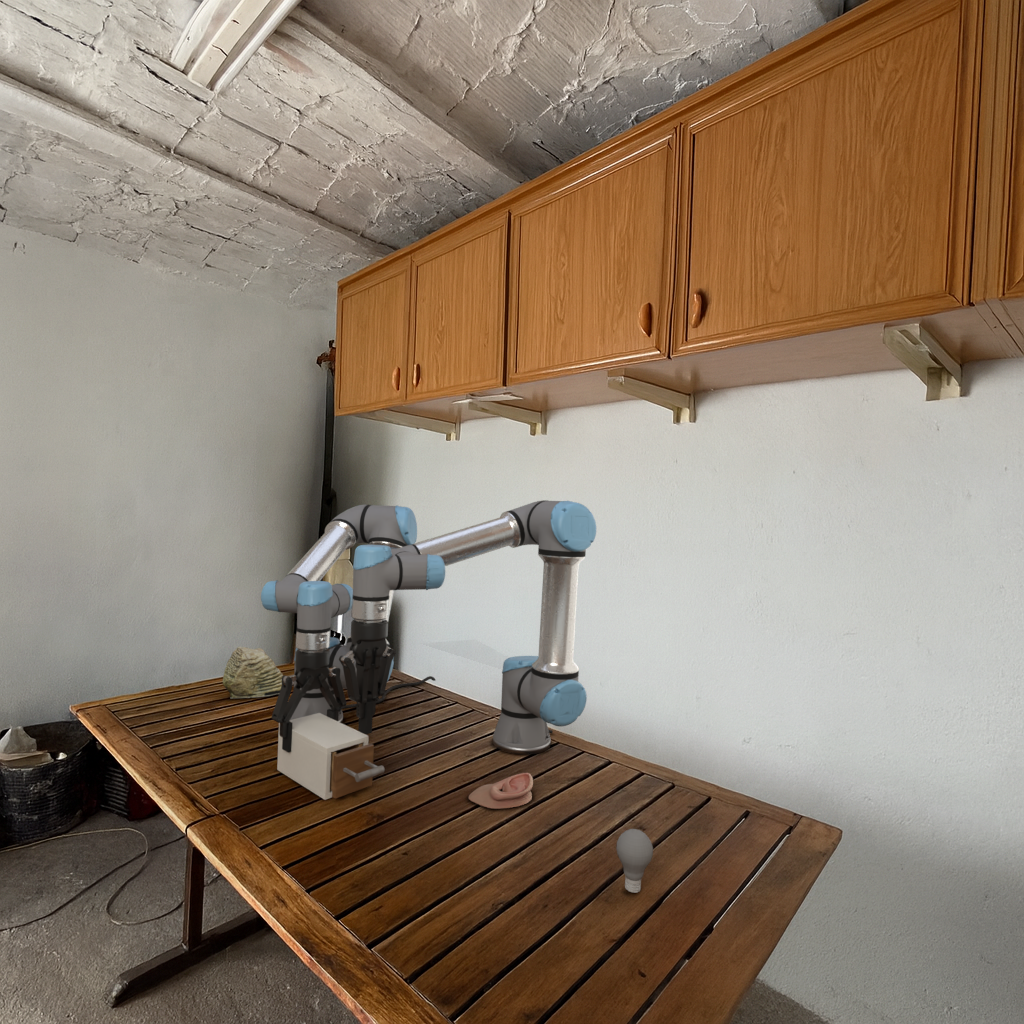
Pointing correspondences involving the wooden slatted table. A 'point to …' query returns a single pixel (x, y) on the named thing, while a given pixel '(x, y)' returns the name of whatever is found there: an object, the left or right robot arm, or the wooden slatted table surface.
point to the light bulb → (634, 857)
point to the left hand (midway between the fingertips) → (309, 743)
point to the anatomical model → (504, 792)
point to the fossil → (251, 674)
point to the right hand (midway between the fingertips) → (365, 731)
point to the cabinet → (315, 751)
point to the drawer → (352, 769)
